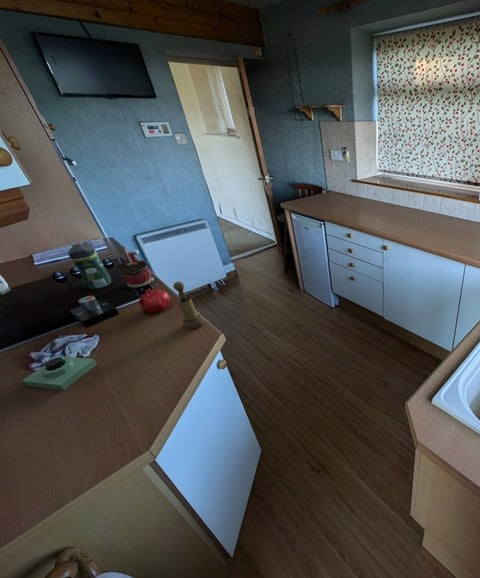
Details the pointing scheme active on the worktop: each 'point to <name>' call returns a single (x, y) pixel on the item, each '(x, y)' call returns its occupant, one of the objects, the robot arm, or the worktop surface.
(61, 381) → the button box
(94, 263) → the coffee jar
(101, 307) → the panel
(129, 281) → the cake
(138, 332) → the worktop surface
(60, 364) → the button
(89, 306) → the knob
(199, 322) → the mortar and pestle
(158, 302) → the pomegranate
